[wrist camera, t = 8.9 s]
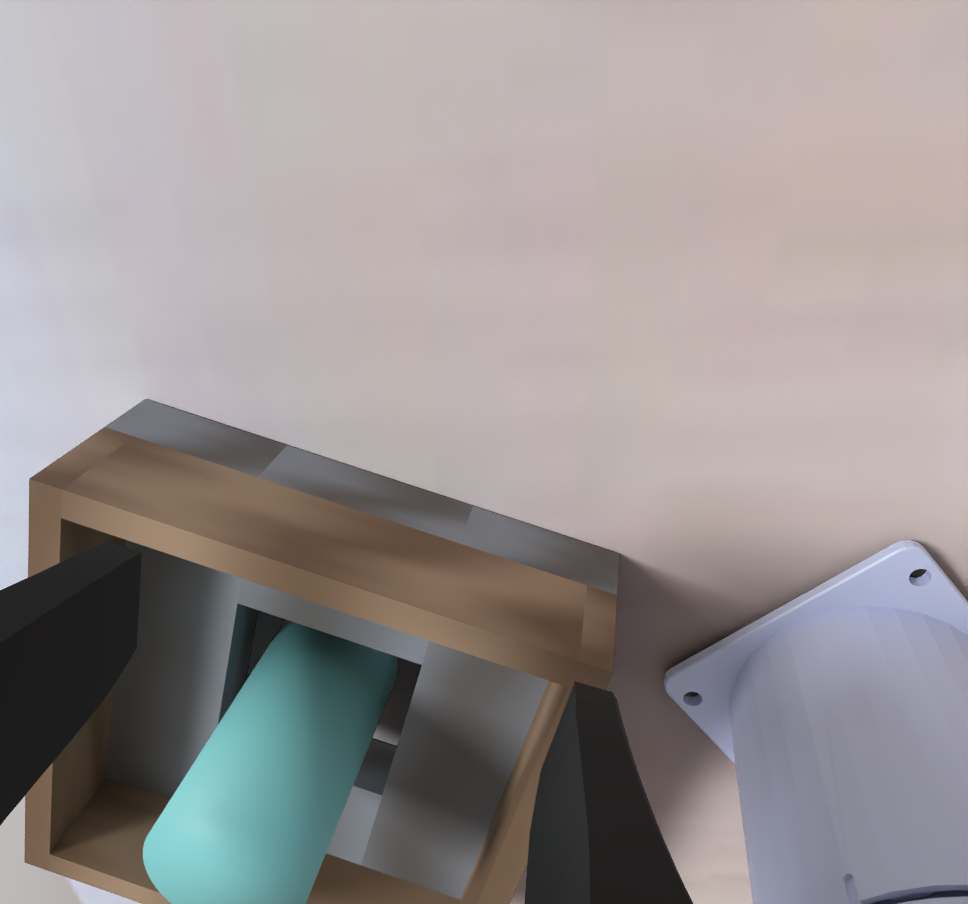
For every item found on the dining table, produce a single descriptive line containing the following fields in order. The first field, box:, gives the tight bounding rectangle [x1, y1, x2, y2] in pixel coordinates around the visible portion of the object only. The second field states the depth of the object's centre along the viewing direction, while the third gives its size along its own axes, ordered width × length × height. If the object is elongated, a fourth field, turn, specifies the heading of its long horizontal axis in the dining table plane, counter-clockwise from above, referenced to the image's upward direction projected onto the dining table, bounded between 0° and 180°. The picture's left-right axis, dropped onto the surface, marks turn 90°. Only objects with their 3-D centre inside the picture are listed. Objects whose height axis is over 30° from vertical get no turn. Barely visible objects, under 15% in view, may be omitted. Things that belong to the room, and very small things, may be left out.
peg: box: [143, 620, 398, 904], centre depth 23 cm, size 4×4×8 cm
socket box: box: [25, 399, 619, 904], centre depth 24 cm, size 14×14×5 cm
